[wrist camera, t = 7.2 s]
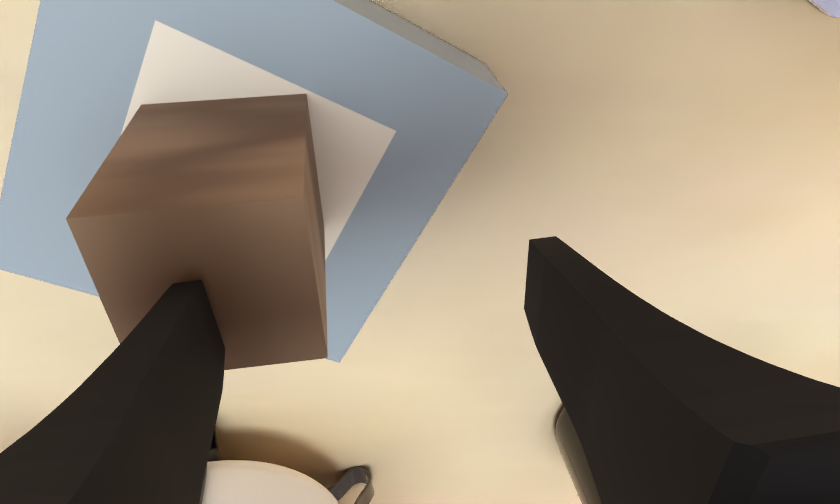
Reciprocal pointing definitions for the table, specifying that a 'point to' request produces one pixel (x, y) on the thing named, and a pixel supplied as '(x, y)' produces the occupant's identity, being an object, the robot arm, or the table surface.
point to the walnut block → (214, 223)
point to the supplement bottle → (576, 460)
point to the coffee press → (273, 483)
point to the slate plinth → (240, 78)
